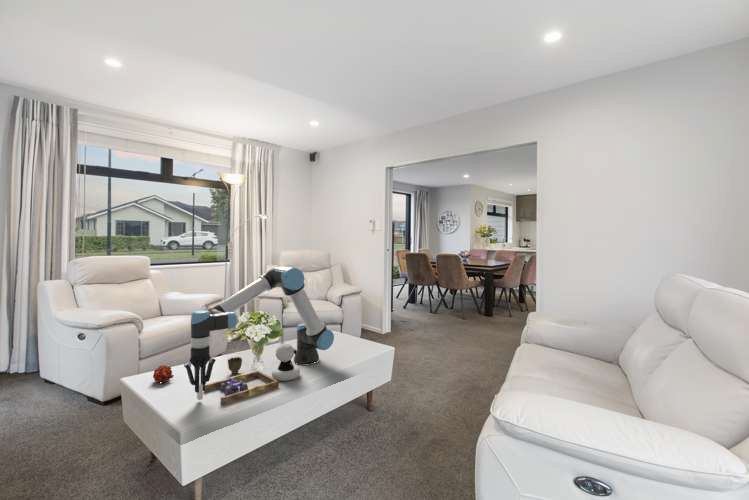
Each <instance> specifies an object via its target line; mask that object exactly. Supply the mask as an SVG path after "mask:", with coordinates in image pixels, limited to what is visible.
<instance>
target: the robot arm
mask: <svg viewBox="0 0 749 500" xmlns="http://www.w3.org/2000/svg"><path fill="white" fill-rule="evenodd" d="M305 286H306V284H305V275H304V273H303V271H302V270H301V269H300V268H298V267H294V266H283V265H282V266H281V265H279V266H275V267H273V268H270V269H269V270H268V271H267V270H266V272H264V273H261V274H260V276H258V279H256V280H255V281H253V282H252V283H250V284H249V285H247V286H245V287H243V288H242V289H240V290H239V291H237V292H236V293H234V294H233V295H231V296H229V297H228V298H226V299H224V300H223V301H221V302H220V303H218V304H217V305H215V306H213V307H208V308H205V309H204V310H195V311H193V312H192V313H191V314H190V315H191V317H190V358H189V361H188V362H187V363H184V364H183V366H184V368H185V369H186V372H187V376H188V379H189V380H188V381H189V383H190V385H192V386H194V392H195V393H196V399H197V400H198V401H200V400H203V399H204V396H203V395H204V390H205V385H206V384H207V382H209V381H210V380H211V375H212V371H213V367H214V364H215V362H216V361H217V360H216V359H215V358H214V357H211V355H210V344H211V343H210V339H211V338H210V337H211V336H210V335H211V334H210V333H211V332H215V331H221V330H226V329H227V330H229V329H232V328H233V329H234V328H235V327H236V325H237V324H238V316H237V314H236V313H235V312H236V311H237V310H239V309H241V308H242V307H243V306H246V305H247V304H248V303H250V302H251V301H252V300H254V299H256V298H258V297H259V296H260V295H262V294H263V293H264V292H269V291H271V290H273V289H276V288H281V290H282V291H283V294H284V295H285V297H286V296H287V297H289V298H290V300H291V302H292V304H293V306H294V308H295V310H296V311H297V313H298V315H299V317H300V318H301V321H302V323H299V324H297V326H296V327H297V328H296V355H295V354H294V355H293V363H294V362H295V363H294V364H296V363H297V364H296V365H299V364H310V365H312V364H311V363H314V362H317V361H318V360H319V361H320V356H319V352H318V350H321V351H326V350H328V349H330V348H331V347H332V345H333V343H334V340H335V334H334V332H333V331H332V330H331V329H328V328H327V326H326V324H325V322H324V321H321V320H320V318H319V316H318V314H317V312H316V310H315V308H314V307H313V304H312V303H311V300H310V298H309V296H308V295H307V292H306V291H305ZM319 361H318V362H319ZM318 362H317V363H318ZM207 364H208V365H207ZM192 366H193V369H194V374H193V371H192Z"/></svg>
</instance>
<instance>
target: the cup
mask: <svg viewBox="0 0 749 500" xmlns="http://www.w3.org/2000/svg"><path fill="white" fill-rule="evenodd" d="M242 364H243V358H242V357H241V356H237V357H235V356H234V357H230V358H228V359H227V367H228V370H229V371H230V372H231V374H232V375H236V374H238V373H239V371H240V369H242Z"/></svg>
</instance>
